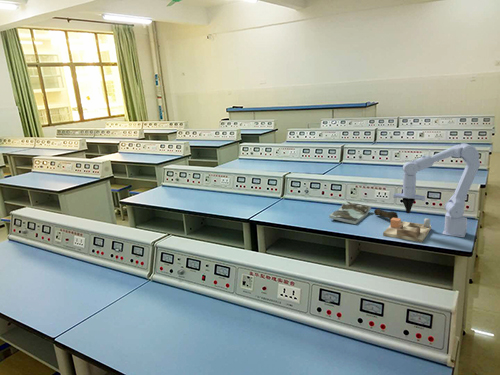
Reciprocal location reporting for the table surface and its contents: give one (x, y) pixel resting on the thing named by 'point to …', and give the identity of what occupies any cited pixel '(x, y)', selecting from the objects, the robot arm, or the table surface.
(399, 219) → the terracotta block
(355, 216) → the topographical model
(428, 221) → the grey peg
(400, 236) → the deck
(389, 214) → the hand tool
